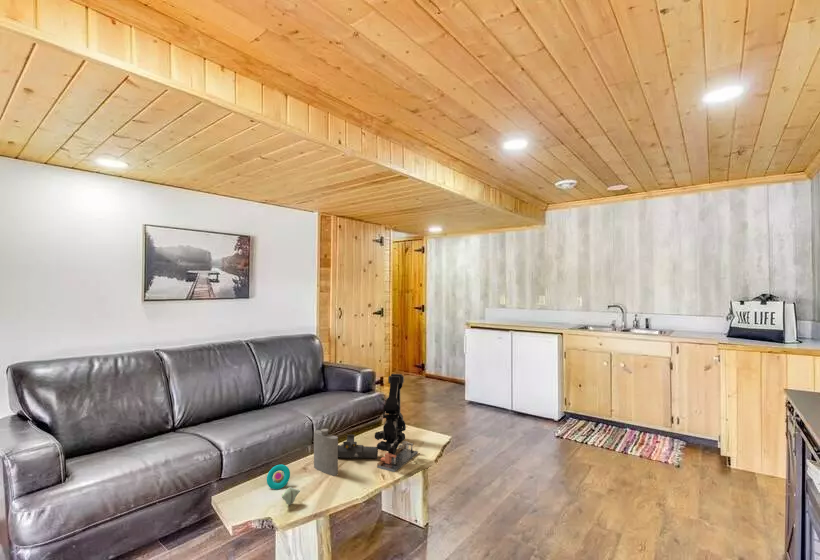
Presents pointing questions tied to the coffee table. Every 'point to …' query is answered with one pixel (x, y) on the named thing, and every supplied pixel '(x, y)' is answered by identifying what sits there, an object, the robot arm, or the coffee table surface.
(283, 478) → the ornament
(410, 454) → the plate
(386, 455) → the block
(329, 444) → the hip flask
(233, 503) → the coffee table surface
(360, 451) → the laser sight
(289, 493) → the grey-green faceted piece
